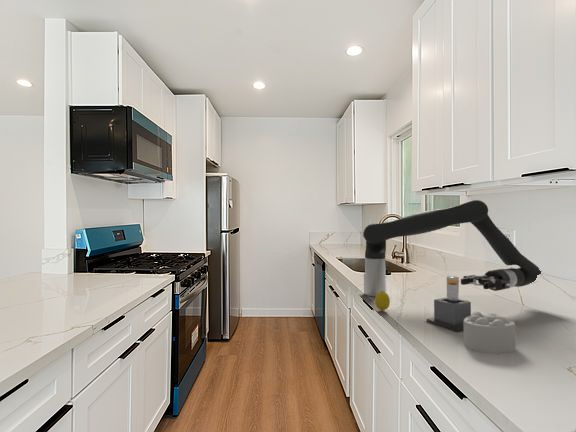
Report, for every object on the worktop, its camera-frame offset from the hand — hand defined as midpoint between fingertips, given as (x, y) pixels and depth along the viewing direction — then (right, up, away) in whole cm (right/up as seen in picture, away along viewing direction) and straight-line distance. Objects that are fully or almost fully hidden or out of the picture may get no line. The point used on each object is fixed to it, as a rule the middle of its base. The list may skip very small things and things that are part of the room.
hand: (472, 283), depth 119 cm
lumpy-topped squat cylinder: (-9, -13, -24) cm, 28 cm away
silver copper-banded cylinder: (-10, -11, -5) cm, 15 cm away
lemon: (-29, -13, +11) cm, 34 cm away
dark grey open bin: (-10, -13, -5) cm, 17 cm away
